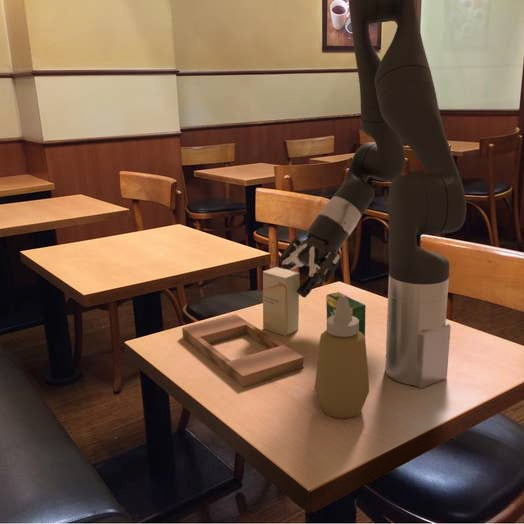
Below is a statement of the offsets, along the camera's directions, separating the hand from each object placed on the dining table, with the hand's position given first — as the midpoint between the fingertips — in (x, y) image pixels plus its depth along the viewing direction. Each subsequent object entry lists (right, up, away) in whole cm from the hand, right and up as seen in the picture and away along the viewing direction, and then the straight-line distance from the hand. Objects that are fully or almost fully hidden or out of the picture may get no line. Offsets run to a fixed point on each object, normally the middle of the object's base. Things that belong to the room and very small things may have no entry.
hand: (288, 288), depth 114 cm
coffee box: (+9, -13, -16) cm, 23 cm away
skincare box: (-1, -8, +1) cm, 9 cm away
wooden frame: (-9, -11, -8) cm, 17 cm away
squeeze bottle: (+7, -17, -28) cm, 33 cm away
